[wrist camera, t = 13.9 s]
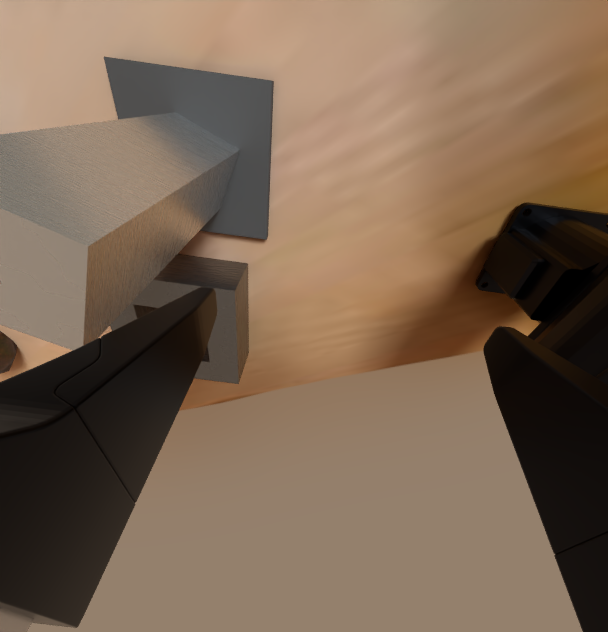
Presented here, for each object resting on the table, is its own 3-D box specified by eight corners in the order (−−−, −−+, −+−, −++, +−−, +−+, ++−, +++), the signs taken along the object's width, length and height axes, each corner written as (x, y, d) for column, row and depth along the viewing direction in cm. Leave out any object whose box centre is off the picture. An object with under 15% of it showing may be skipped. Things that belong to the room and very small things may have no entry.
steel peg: (240, 149, 18) (88, 246, 7) (220, 208, 20) (82, 353, 9) (175, 112, 17) (-131, 150, 6) (162, 178, 19) (-74, 298, 8)
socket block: (247, 263, 23) (234, 290, 20) (248, 352, 29) (238, 383, 26) (122, 246, 23) (88, 271, 20) (149, 339, 29) (127, 369, 26)
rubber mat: (273, 81, 16) (271, 80, 15) (267, 236, 21) (266, 239, 21) (110, 57, 16) (103, 56, 15) (146, 219, 21) (142, 222, 21)
